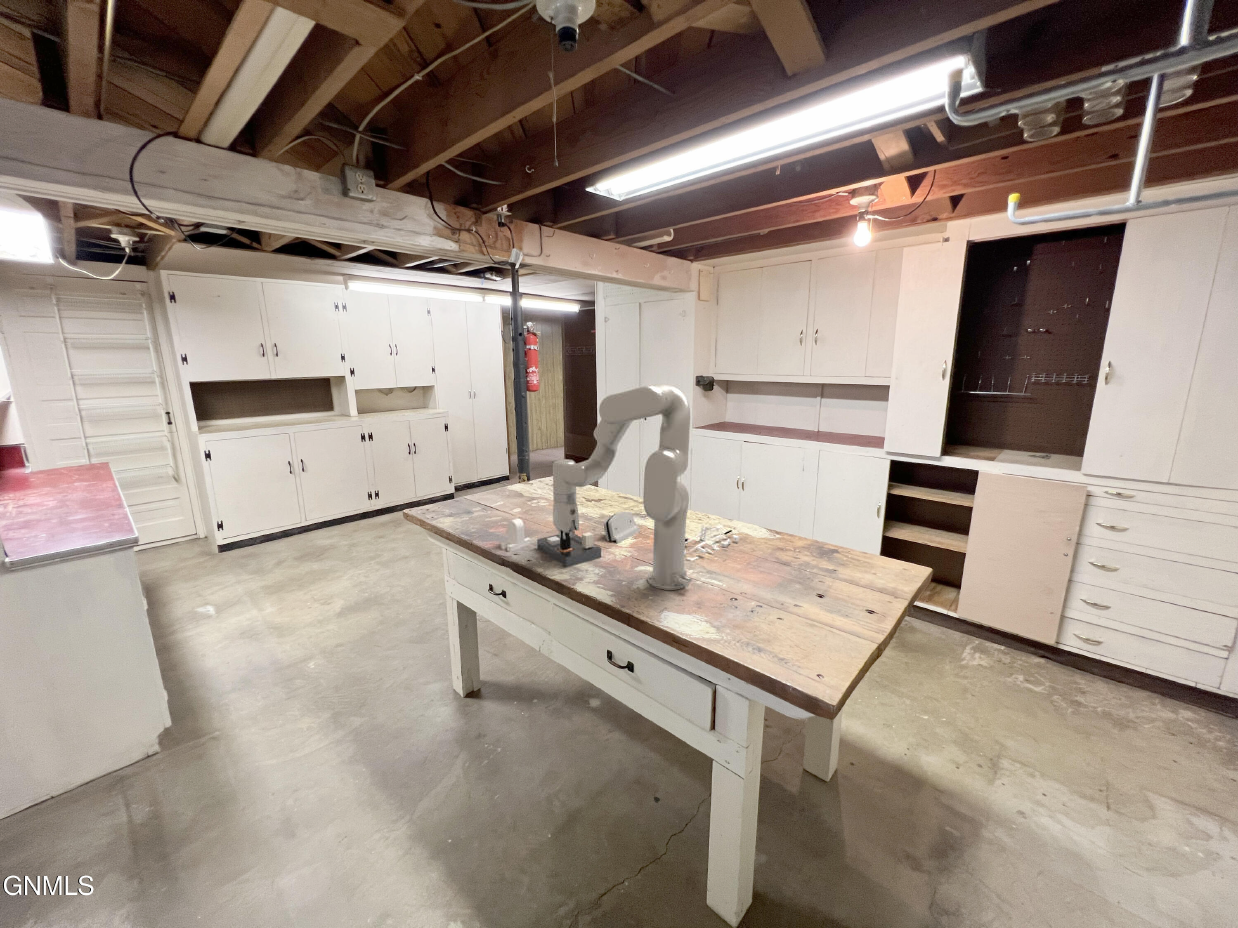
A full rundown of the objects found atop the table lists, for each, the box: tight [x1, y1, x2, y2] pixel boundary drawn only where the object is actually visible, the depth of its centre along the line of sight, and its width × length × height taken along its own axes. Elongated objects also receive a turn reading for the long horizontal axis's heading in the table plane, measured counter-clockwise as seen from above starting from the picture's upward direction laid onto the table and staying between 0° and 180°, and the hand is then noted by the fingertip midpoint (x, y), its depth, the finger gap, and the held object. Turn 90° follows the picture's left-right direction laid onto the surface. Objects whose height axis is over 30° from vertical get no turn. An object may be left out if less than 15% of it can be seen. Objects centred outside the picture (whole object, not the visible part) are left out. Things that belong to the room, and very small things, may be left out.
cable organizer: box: [500, 518, 531, 552], centre depth 172 cm, size 5×10×10 cm, turn 143°
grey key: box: [547, 536, 560, 546], centre depth 167 cm, size 4×4×2 cm
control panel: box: [536, 533, 602, 568], centre depth 167 cm, size 20×14×4 cm
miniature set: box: [684, 524, 740, 562], centre depth 173 cm, size 6×35×12 cm
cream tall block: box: [581, 531, 595, 548], centre depth 162 cm, size 2×3×4 cm
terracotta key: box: [559, 548, 573, 553], centre depth 161 cm, size 4×4×2 cm
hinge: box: [603, 511, 641, 544], centre depth 184 cm, size 17×5×10 cm, turn 147°
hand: (565, 548), depth 161 cm, fingers closed
